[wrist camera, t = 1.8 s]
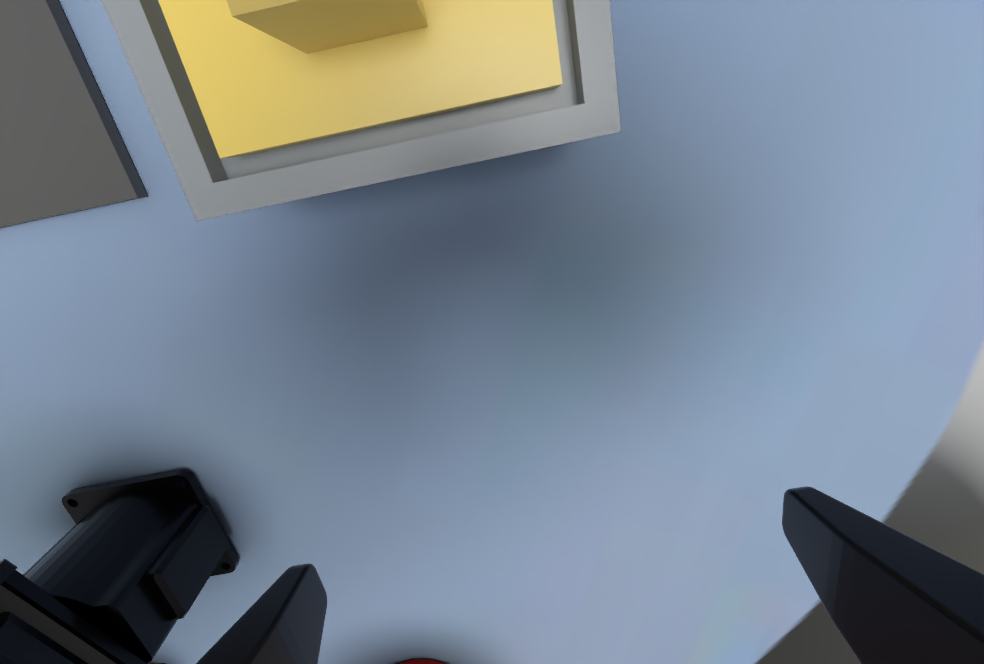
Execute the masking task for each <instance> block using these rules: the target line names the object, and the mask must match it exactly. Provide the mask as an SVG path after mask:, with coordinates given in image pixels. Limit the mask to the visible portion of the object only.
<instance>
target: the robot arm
mask: <svg viewBox="0 0 984 664" xmlns="http://www.w3.org/2000/svg"><path fill="white" fill-rule="evenodd" d="M181 480H182V481H184V482H182V481H181ZM62 503H63V505H64V507H65V508H66V510H67V511H68V512H69V514H70V515H71V517H72V518H73V520H74V521H75V523H76V525H75V526H74V527H73V528H72V529H71V530H70V531H69V532H68V533H67V534H66V535H65V536H64V537H63V538H61V539H60V540H59V541H58V542H57V543H56V544H55V545H54V546H53V547H52V548H51V549H50V550H49V551H48V552H47V553H46V554H45V555H44V556H43V557H42V558H40V559H39V560H38V561H37V562H36V563H35V564H34V565H33V566H32V567H31V568H30V569H29V570H28V571H27V572H26V573H25V574H24V575H22V574H21V573H19V572H18V571H16V570H15V569H16V568H17V567H16V566H15V565H13V564H12V563H11V562H9V561H8V560H6V559H3V560H2V561H0V664H149V663H148V662H150V661H152V659H153V658H154V656H155V654H156V653H157V651H158V650H159V648H160V646H161V645H162V643H163V642H164V640H165V638H166V637H167V635H168V634H169V632H170V631H171V629H172V627H173V626H174V624H175V623H176V621H177V619H181V618H184V617H185V615H186V614H187V612H188V611H189V609H190V607H191V606H192V604H193V603H194V601H195V599H196V598H197V596H198V594H199V593H200V591H201V590H202V588H203V586H204V585H205V583H206V581H207V580H208V578H209V577H210V576H214V575H220V574H226V573H230V572H233V571H234V570H235V568H236V567H237V565H238V563H239V559H238V557H237V555H236V553H235V551H234V549H233V548H232V546H231V544H230V542H229V540H228V538H227V536H226V535H225V533H224V531H223V529H222V527H221V525H220V523H219V522H218V520H217V518H216V516H215V514H214V512H213V511H212V509H211V507H210V505H209V503H208V501H207V499H206V498H205V496H204V494H203V492H202V490H201V488H200V486H199V485H198V483H197V481H196V479H195V477H194V476H193V474H192V473H190V472H189V471H186V470H177V471H172V472H166V473H161V474H155V475H150V476H144V477H139V478H133V479H128V480H123V481H117V482H112V483H106V484H101V485H95V486H90V487H84V488H79V489H74V490H71V491H70V492H69V493H67V494H66V495H65V496H64V497H63V498H62ZM782 526H783V530H784V533H785V536H786V538H787V539H788V541H789V543H790V545H791V547H792V549H793V550H794V552H795V554H796V556H797V558H798V559H799V561H800V563H801V565H802V567H803V569H804V570H805V572H806V574H807V576H808V578H809V579H810V581H811V583H812V585H813V587H814V589H815V590H816V592H817V594H818V596H819V598H820V599H821V601H822V603H823V605H824V607H825V608H826V610H827V612H828V613H829V615H830V617H831V619H832V620H833V622H834V623H835V625H836V627H837V628H838V630H839V631H840V633H841V634H842V636H843V637H844V639H845V640H846V641H847V643H848V645H849V646H850V647H851V649H852V650H853V652H854V653H855V655H856V656H857V658H858V659H859V661H860V662H861V664H984V574H982V573H980V572H978V571H976V570H974V569H972V568H970V567H968V566H966V565H964V564H962V563H960V562H958V561H956V560H954V559H952V558H950V557H948V556H946V555H944V554H942V553H941V552H938V551H937V550H935V549H933V548H931V547H928V546H927V545H925V544H923V543H921V542H919V541H917V540H915V539H913V538H911V537H909V536H907V535H905V534H903V533H901V532H899V531H897V530H895V529H893V528H891V527H889V526H887V525H885V524H883V523H881V522H879V521H877V520H875V519H873V518H872V517H870V516H868V515H866V514H864V513H862V512H860V511H858V510H856V509H854V508H852V507H850V506H848V505H846V504H844V503H842V502H840V501H838V500H836V499H834V498H832V497H830V496H828V495H826V494H824V493H822V492H820V491H818V490H816V489H814V488H812V487H800V488H793V489H788V490H787V491H786V492H785V493H784V502H783V516H782ZM326 608H327V595H326V591H325V589H324V587H323V584H322V582H321V580H320V578H319V575H318V573H317V571H316V569H315V567H314V566H313V565H312V564H303V565H296V566H292V567H290V568H289V569H287V570H286V571H285V572H284V573H283V574H282V575H281V576H280V577H279V579H278V580H277V581H276V582H275V583H274V584H273V585H272V586H271V587H270V588H269V589H268V590H267V591H266V592H265V593H264V594H263V595H262V596H261V597H260V598H259V599H258V600H257V601H256V602H255V603H254V604H253V605H252V606H251V607H250V608H249V610H248V611H247V612H246V613H245V614H244V615H243V616H242V617H241V618H240V619H239V620H238V621H237V622H236V623H235V624H234V625H233V626H232V627H231V628H230V629H229V630H228V631H227V632H226V633H225V634H224V635H223V636H222V637H221V638H220V640H219V641H218V642H217V643H216V644H215V645H214V646H213V647H212V648H211V649H210V650H209V651H208V652H207V653H206V654H205V655H204V656H203V657H202V658H201V659H200V660H199V661H198V662H197V663H196V664H317V663H318V657H319V651H320V645H321V638H322V632H323V626H324V620H325V614H326Z"/></svg>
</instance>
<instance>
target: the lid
mask: <svg viewBox="0 0 984 664" xmlns="http://www.w3.org/2000/svg"><path fill="white" fill-rule="evenodd" d="M158 1H159V4H160V6H161V9H162V12H163V14H164V17H165V19H166V22H167V24H168V27H169V29H170V32H171V35H172V37H173V40H174V42H175V45H176V47H177V50H178V53H179V55H180V58H181V60H182V63H183V65H184V68H185V70H186V73H187V76H188V78H189V81H190V83H191V86H192V88H193V91H194V93H195V96H196V99H197V101H198V104H199V106H200V109H201V111H202V114H203V117H204V119H205V122H206V124H207V127H208V129H209V132H210V134H211V137H212V140H213V142H214V145H215V147H216V150H217V152H218V155H219V157H220V158H231V157H241V156H246V155H251V154H255V153H260V152H264V151H269V150H274V149H278V148H283V147H287V146H292V145H297V144H301V143H306V142H311V141H315V140H320V139H324V138H329V137H334V136H338V135H343V134H347V133H352V132H357V131H361V130H366V129H371V128H375V127H380V126H384V125H389V124H394V123H398V122H403V121H407V120H412V119H417V118H421V117H426V116H431V115H435V114H440V113H444V112H449V111H454V110H458V109H463V108H467V107H472V106H477V105H481V104H486V103H491V102H495V101H500V100H504V99H509V98H514V97H518V96H523V95H527V94H532V93H537V92H541V91H546V90H550V89H555V88H557V87H559V86H560V85H562V84H563V83H562V75H561V67H560V59H559V51H558V42H557V34H556V26H555V18H554V10H553V2H552V0H158Z"/></svg>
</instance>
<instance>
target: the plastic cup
mask: <svg viewBox="0 0 984 664" xmlns="http://www.w3.org/2000/svg"><path fill="white" fill-rule="evenodd" d="M398 664H446V663H442V662H439V661H435V660H431V659H412V660H408V661H405V662H402V663H398Z"/></svg>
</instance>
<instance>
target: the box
mask: <svg viewBox="0 0 984 664" xmlns="http://www.w3.org/2000/svg"><path fill="white" fill-rule="evenodd" d="M102 2H103V5H104V7H105V9H106V12H107V14H108V16H109V19H110V21H111V23H112V26H113V28H114V30H115V33H116V35H117V37H118V40H119V42H120V44H121V47H122V49H123V51H124V54H125V56H126V58H127V61H128V63H129V65H130V68H131V70H132V72H133V75H134V77H135V79H136V82H137V84H138V86H139V89H140V91H141V93H142V96H143V98H144V100H145V103H146V105H147V107H148V110H149V112H150V114H151V117H152V119H153V121H154V124H155V126H156V128H157V131H158V133H159V135H160V138H161V140H162V142H163V145H164V147H165V149H166V152H167V154H168V156H169V159H170V161H171V163H172V166H173V168H174V170H175V173H176V175H177V177H178V180H179V182H180V184H181V187H182V189H183V191H184V194H185V196H186V198H187V201H188V203H189V205H190V208H191V210H192V212H193V215H194V217H195V219H196V221H199V220H204V219H209V218H214V217H218V216H223V215H228V214H233V213H237V212H242V211H247V210H252V209H256V208H261V207H266V206H271V205H275V204H280V203H285V202H290V201H294V200H299V199H304V198H309V197H313V196H318V195H323V194H328V193H332V192H337V191H342V190H347V189H351V188H356V187H361V186H366V185H370V184H375V183H380V182H385V181H389V180H394V179H399V178H404V177H408V176H413V175H418V174H423V173H427V172H432V171H437V170H442V169H446V168H451V167H456V166H461V165H465V164H470V163H475V162H480V161H484V160H489V159H494V158H499V157H503V156H508V155H513V154H518V153H522V152H527V151H532V150H536V149H541V148H546V147H551V146H555V145H560V144H565V143H570V142H574V141H579V140H584V139H589V138H593V137H598V136H603V135H608V134H612V133H617V132H621V128H620V116H619V105H618V93H617V82H616V70H615V58H614V47H613V35H612V23H611V12H610V0H552V2H553V10H554V18H555V26H556V34H557V42H558V51H559V59H560V67H561V75H562V83H563V84H562V85H560V86H559V87H557V88H555V89H550V90H546V91H541V92H537V93H532V94H527V95H523V96H518V97H514V98H509V99H504V100H500V101H495V102H491V103H486V104H481V105H477V106H472V107H467V108H463V109H458V110H454V111H449V112H444V113H440V114H435V115H431V116H426V117H421V118H417V119H412V120H407V121H403V122H398V123H394V124H389V125H384V126H380V127H375V128H371V129H366V130H361V131H357V132H352V133H347V134H343V135H338V136H334V137H329V138H324V139H320V140H315V141H311V142H306V143H301V144H297V145H292V146H287V147H283V148H278V149H274V150H269V151H264V152H260V153H255V154H251V155H246V156H241V157H231V158H220V157H219V155H218V152H217V150H216V147H215V145H214V142H213V140H212V137H211V134H210V132H209V129H208V127H207V124H206V122H205V119H204V117H203V114H202V111H201V109H200V106H199V104H198V101H197V99H196V96H195V93H194V91H193V88H192V86H191V83H190V81H189V78H188V76H187V73H186V70H185V68H184V65H183V63H182V60H181V58H180V55H179V53H178V50H177V47H176V45H175V42H174V40H173V37H172V35H171V32H170V29H169V27H168V24H167V22H166V19H165V17H164V14H163V12H162V9H161V6H160V4H159V1H158V0H102Z"/></svg>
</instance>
